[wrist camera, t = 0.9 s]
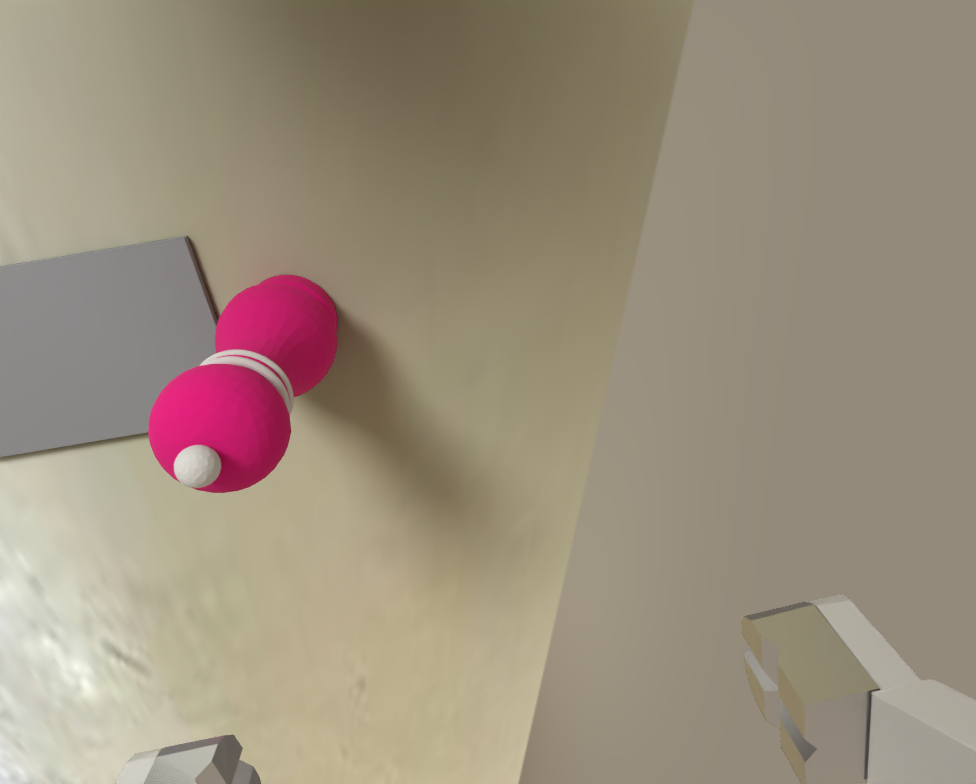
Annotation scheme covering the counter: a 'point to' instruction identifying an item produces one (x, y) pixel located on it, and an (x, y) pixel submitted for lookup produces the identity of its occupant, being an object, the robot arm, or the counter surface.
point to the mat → (97, 341)
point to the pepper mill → (245, 387)
